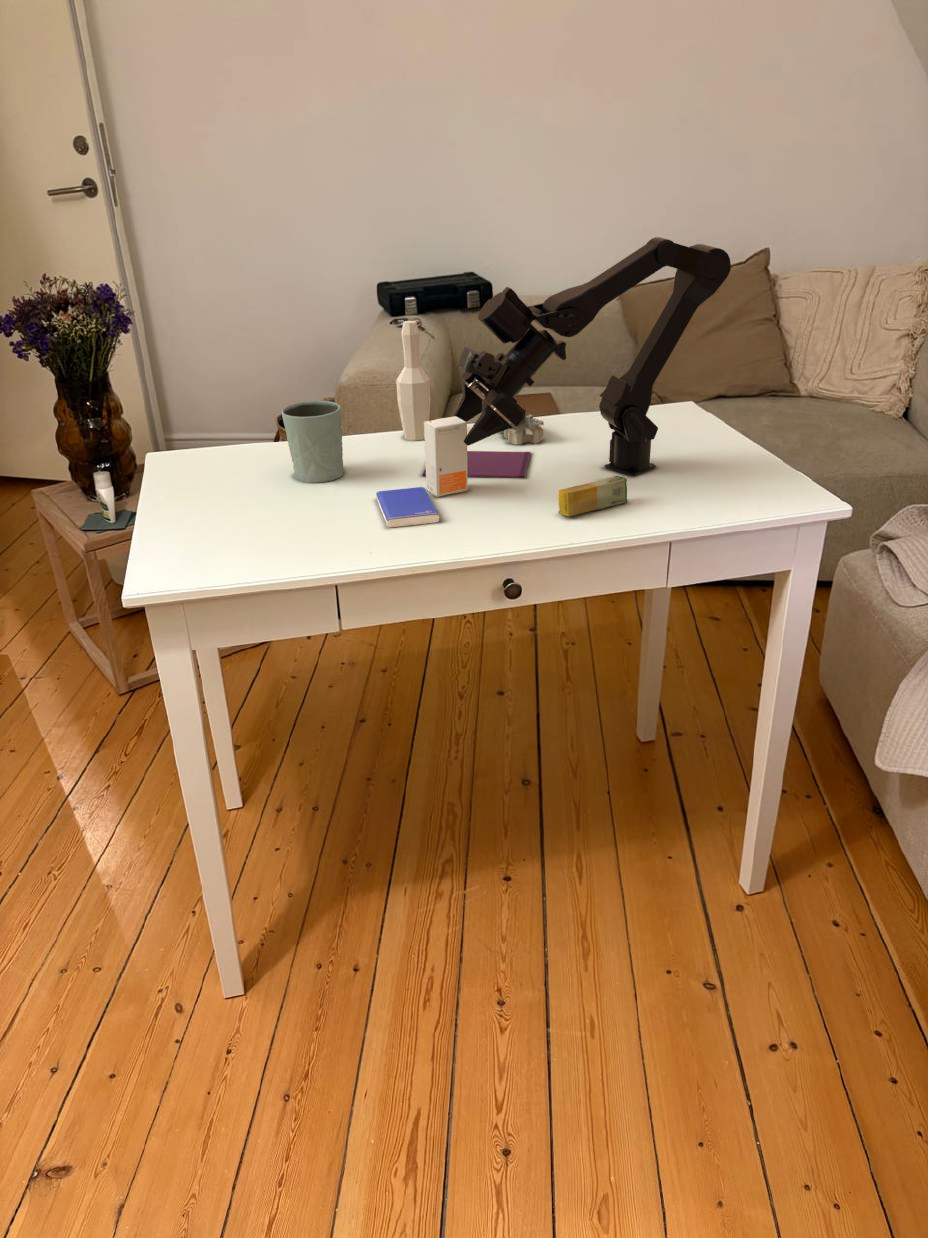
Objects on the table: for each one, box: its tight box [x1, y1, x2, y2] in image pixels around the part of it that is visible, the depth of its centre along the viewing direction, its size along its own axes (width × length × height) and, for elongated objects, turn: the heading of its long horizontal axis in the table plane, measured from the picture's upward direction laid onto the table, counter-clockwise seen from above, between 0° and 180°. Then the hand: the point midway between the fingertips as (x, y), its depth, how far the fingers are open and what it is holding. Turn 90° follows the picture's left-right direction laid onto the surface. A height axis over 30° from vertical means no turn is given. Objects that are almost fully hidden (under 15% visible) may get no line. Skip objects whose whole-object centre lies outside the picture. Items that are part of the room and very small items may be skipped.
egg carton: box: [500, 413, 545, 446], centre depth 188 cm, size 11×8×4 cm
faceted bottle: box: [395, 320, 432, 441], centre depth 185 cm, size 6×6×22 cm
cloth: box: [421, 450, 531, 479], centre depth 175 cm, size 18×13×1 cm
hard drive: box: [375, 486, 440, 528], centre depth 156 cm, size 2×8×12 cm
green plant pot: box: [281, 400, 344, 484], centre depth 170 cm, size 10×10×12 cm
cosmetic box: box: [424, 415, 469, 498], centre depth 161 cm, size 6×4×12 cm
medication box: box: [557, 475, 628, 517], centre depth 153 cm, size 12×3×4 cm, turn 121°
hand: (458, 435), depth 160 cm, fingers open, 9 cm apart
